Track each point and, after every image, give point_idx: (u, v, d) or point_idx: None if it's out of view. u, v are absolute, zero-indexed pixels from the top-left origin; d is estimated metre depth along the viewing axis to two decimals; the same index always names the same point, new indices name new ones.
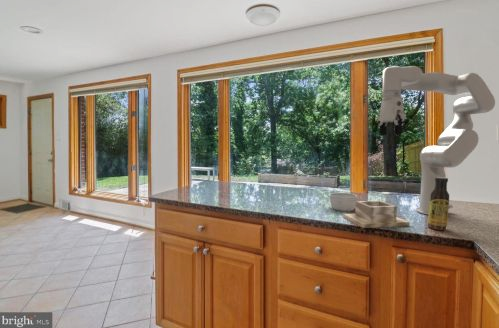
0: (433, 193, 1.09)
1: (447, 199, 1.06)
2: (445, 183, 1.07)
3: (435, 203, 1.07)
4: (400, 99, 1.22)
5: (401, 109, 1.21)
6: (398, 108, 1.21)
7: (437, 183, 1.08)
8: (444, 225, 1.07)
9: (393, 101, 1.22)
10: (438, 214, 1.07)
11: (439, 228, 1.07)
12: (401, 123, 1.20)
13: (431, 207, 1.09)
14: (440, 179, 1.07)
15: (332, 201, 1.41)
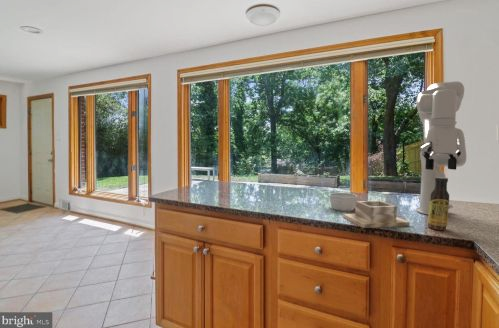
0: (433, 193, 1.09)
1: (447, 199, 1.06)
2: (445, 183, 1.07)
3: (435, 203, 1.07)
4: None
5: None
6: None
7: (437, 183, 1.08)
8: (444, 225, 1.07)
9: (455, 131, 1.06)
10: (438, 214, 1.07)
11: (439, 228, 1.07)
12: None
13: (431, 207, 1.09)
14: (440, 179, 1.07)
15: (332, 201, 1.41)
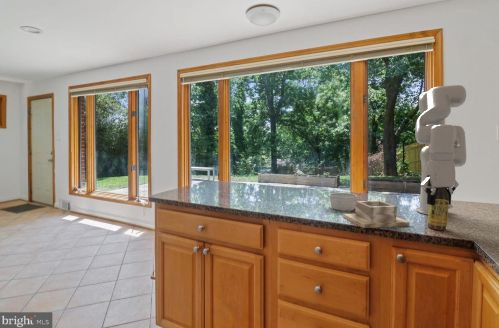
0: None
1: (447, 199, 1.06)
2: None
3: (435, 203, 1.07)
4: None
5: None
6: None
7: None
8: (444, 225, 1.07)
9: (453, 165, 1.07)
10: (438, 214, 1.07)
11: (439, 228, 1.07)
12: None
13: (431, 207, 1.09)
14: None
15: (332, 201, 1.41)
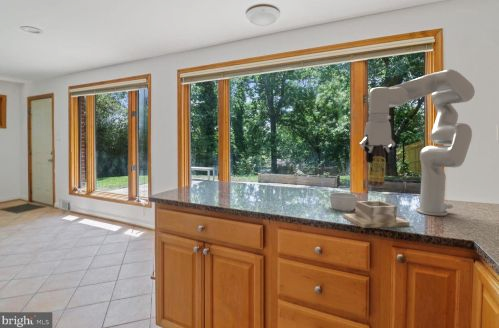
0: (371, 152, 1.18)
1: (383, 156, 1.15)
2: None
3: (373, 160, 1.16)
4: None
5: None
6: None
7: None
8: (381, 180, 1.16)
9: (389, 125, 1.16)
10: (375, 170, 1.16)
11: (376, 183, 1.16)
12: None
13: (370, 165, 1.18)
14: None
15: (332, 201, 1.41)
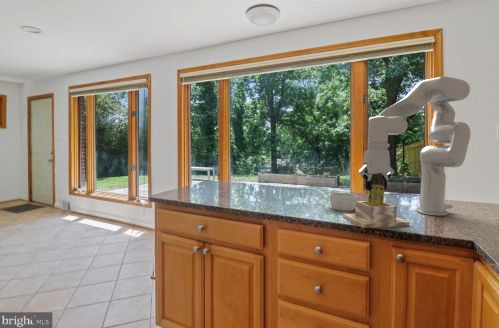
0: None
1: (382, 184, 1.16)
2: None
3: (372, 188, 1.17)
4: None
5: None
6: None
7: None
8: None
9: (388, 154, 1.16)
10: (374, 198, 1.16)
11: None
12: None
13: (368, 192, 1.18)
14: None
15: (332, 201, 1.41)
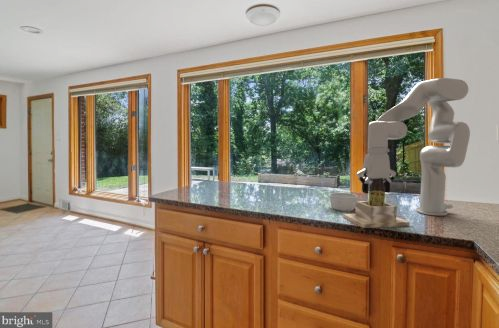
0: (371, 185, 1.19)
1: (382, 190, 1.16)
2: None
3: (372, 194, 1.17)
4: None
5: None
6: None
7: None
8: None
9: (387, 158, 1.17)
10: (375, 204, 1.17)
11: None
12: None
13: (369, 198, 1.19)
14: None
15: (332, 201, 1.41)
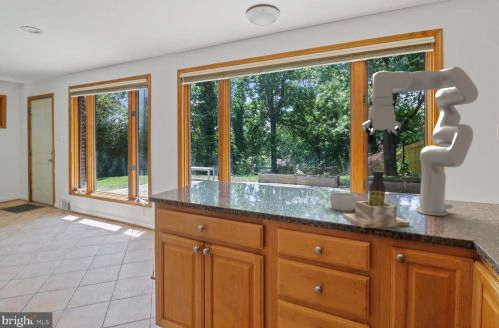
0: (371, 185, 1.19)
1: (382, 190, 1.16)
2: (381, 176, 1.17)
3: (372, 194, 1.17)
4: None
5: None
6: None
7: (374, 176, 1.18)
8: None
9: (392, 109, 1.17)
10: (375, 204, 1.17)
11: None
12: None
13: (369, 198, 1.19)
14: (376, 172, 1.17)
15: (332, 201, 1.41)
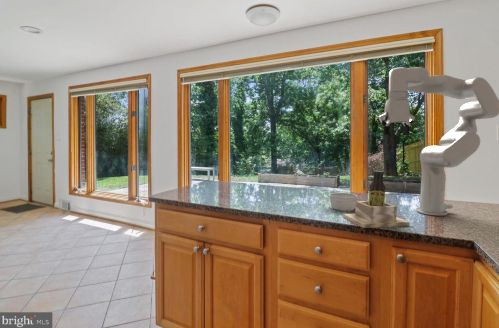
0: (371, 185, 1.19)
1: (382, 190, 1.16)
2: (381, 176, 1.17)
3: (372, 194, 1.17)
4: None
5: None
6: None
7: (374, 176, 1.18)
8: None
9: (407, 103, 1.26)
10: (375, 204, 1.17)
11: None
12: None
13: (369, 198, 1.19)
14: (376, 172, 1.17)
15: (332, 201, 1.41)
